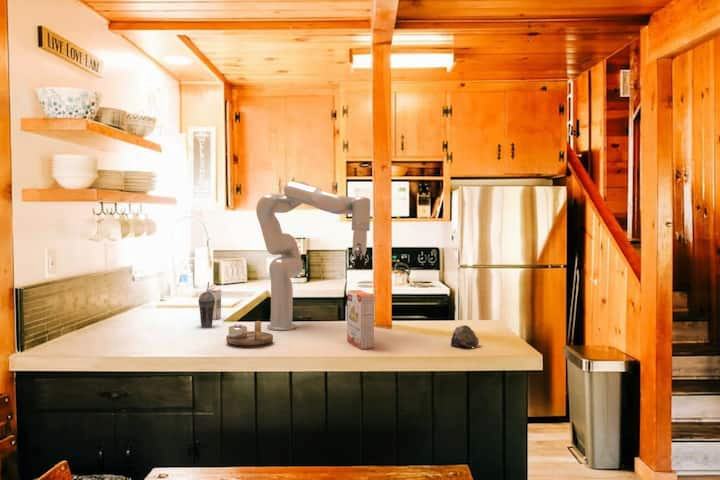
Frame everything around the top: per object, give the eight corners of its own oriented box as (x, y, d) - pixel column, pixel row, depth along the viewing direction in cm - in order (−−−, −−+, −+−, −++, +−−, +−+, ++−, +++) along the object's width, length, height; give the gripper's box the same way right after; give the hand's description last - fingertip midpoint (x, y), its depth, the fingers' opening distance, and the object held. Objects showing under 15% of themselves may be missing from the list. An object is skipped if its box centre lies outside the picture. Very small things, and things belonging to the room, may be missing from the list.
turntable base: (231, 341, 230) (231, 339, 230) (257, 338, 236) (257, 336, 236) (242, 347, 221) (242, 345, 221) (268, 344, 227) (268, 341, 227)
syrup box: (209, 317, 281) (209, 287, 281) (221, 318, 280) (221, 288, 280) (204, 319, 276) (204, 289, 275) (216, 320, 275) (216, 289, 274)
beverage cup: (194, 327, 257) (194, 282, 256) (204, 324, 264) (205, 280, 263) (208, 329, 254) (208, 283, 253) (218, 326, 261) (218, 281, 260)
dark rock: (473, 349, 222) (461, 325, 224) (453, 357, 227) (442, 333, 229) (482, 343, 232) (471, 320, 234) (463, 351, 236) (452, 328, 238)
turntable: (219, 337, 231) (219, 316, 231) (261, 333, 241) (261, 313, 241) (236, 347, 216) (237, 324, 216) (280, 341, 226) (280, 320, 226)
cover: (225, 336, 227) (226, 324, 227) (242, 334, 231) (242, 322, 231) (232, 340, 221) (232, 327, 221) (249, 338, 225) (249, 325, 225)
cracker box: (345, 341, 234) (346, 290, 233) (359, 340, 236) (360, 289, 235) (359, 349, 221) (360, 295, 220) (374, 348, 224) (375, 294, 223)
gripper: (354, 226, 250) (353, 265, 251) (348, 227, 233) (347, 269, 234) (371, 226, 249) (370, 266, 250) (367, 227, 232) (366, 270, 233)
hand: (359, 268), depth 242 cm, fingers open, 9 cm apart
